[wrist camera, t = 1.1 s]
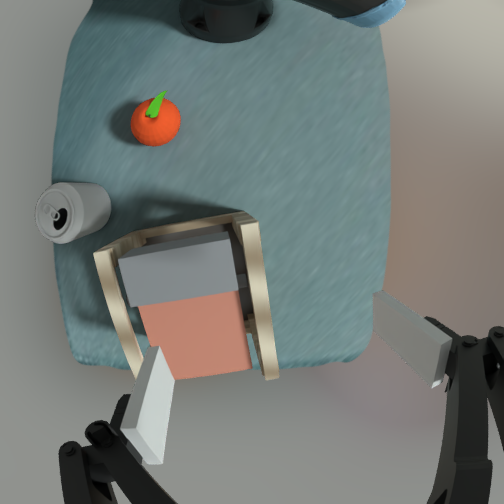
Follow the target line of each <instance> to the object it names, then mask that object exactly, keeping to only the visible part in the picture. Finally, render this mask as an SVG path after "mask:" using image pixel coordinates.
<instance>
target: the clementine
mask: <svg viewBox="0 0 504 504" xmlns="http://www.w3.org/2000/svg"><path fill="white" fill-rule="evenodd" d="M166 92H167V91H163V92H161V93H160V94H159V95H158V96H157V97H156V98H151V99H149V100H146V101H144V102H143V103H141V104H140V105H139V106H138V107H137V108H136V109H135V111H134V113H133V115H132V118H131V130H132V133H133V135H134V136H135V138H136V139H137V140H138V141H139V142H140V143H142V144H144V145H147V146H161V145H163V144H166V143H167V142H169V141H170V140H172V139H173V138H174V136H175V135H176V134H177V132H178V130H179V127H180V113H179V110H178V109H177V107H176V106H175V105H174V104H173V103H172V102H171V101H169V100H167V99H165V98H163V97H164V95H165V93H166Z"/></svg>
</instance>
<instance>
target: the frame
mask: <svg viewBox="0 0 504 504" xmlns="http://www.w3.org/2000/svg"><path fill="white" fill-rule="evenodd" d="M226 231H228V234H229V238H230V242H231V248H232V254H233V260H234V266H235V272H236V275H240V274H245V275H246V280H247V287H244V288H238V289H239V290H238V292H239V297H240V303H241V308H242V314H243V320H244V325H245V330H246V334H249V333H251V334H252V338H253V341H254V345H255V349H256V353H257V356H258V360H259V364H260V367H261V371H262V375H263V376H265V379H266V380H270V379H275V378H279V367H278V359H277V356H276V349H275V341H274V334H273V327H272V319H271V312H270V305H269V298H268V291H267V283H266V276H265V269H264V262H263V255H262V248H261V236H260V229H259V223H258V221H257V220H256V219H255V218H253V217H252V216H250V215H249V214H248V213H246V212H245V211H241V212H235V213H229V214H223V215H217V216H211V217H205V218H200V219H194V220H189V221H183V222H178V223H173V224H168V225H162V226H157V227H152V228H147V229H142V230H138V231H133V232H130V233H129V234H127V235H125V236H123V237H121V238H119V239H117V240H115V241H113V242H112V243H110V244H108V245H106V246H104V247H102V248H100V249H99V250H97V251H95V252H94V253H93V255H94V259H95V263H96V267H97V271H98V274H99V278H100V282H101V285H102V288H103V292H104V295H105V298H106V302H107V305H108V308H109V311H110V314H111V317H112V320H113V323H114V326H115V329H116V331H117V334H118V337H119V339H120V342H121V345H122V347H123V350H124V352H125V355H126V357H127V360H128V362H129V365H130V367H131V369H132V372H133V374H134V376H135V379H137V376H138V373H139V370H140V367H141V365H142V362H143V359H144V358H143V356H142V353H141V350H140V348H139V345H138V342H137V339H136V337H135V334H134V331H133V328H132V325H131V322H130V319H129V316H128V313H127V310H126V306H125V303H124V300H123V296H122V293H121V289H120V286H119V282H118V279H117V275H116V271H115V267H117V266H118V265H119V263H118V259H119V258H120V257H122V256H123V255H124V254H126V253H127V252H128V251H130V250H131V249H133V248H139V247H144V246H149V245H154V244H160V243H165V242H170V241H176V240H181V239H187V238H192V237H198V236H203V235H209V234H215V233H221V232H226ZM150 347H151V345H150Z"/></svg>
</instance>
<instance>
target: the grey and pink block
mask: <svg viewBox="0 0 504 504" xmlns="http://www.w3.org/2000/svg"><path fill="white" fill-rule="evenodd" d="M118 263H119V267H120V271H121V275H122V278H123V282H124V286H125V289H126V293H127V295H126V300H127V303H128V305H129V306H131V307H137V306H138V308H139V312H140V315H141V318H142V321H143V324H144V327H145V330H146V333H147V336H148V339H149V342H150V345H151V347H154V346H160V348H161V350H162V353H163V355H164V358H165V360H166V362H167V365H168V367H169V369H170V372H171V374H172V376H173V378H174V380H176V379H186V378H194V377H202V376H208V375H216V374H222V373H229V372H235V371H241V370H246V369H252V362H251V357H250V352H249V347H248V341H247V336H246V330H245V325H244V320H243V314H242V308H241V303H240V297H239V292H238V290H239V289H238V288H244V287H247V280H246V275H245V274H240V275H236V272H235V266H234V260H233V254H232V248H231V242H230V238H229V234H228V231H226V232H221V233H215V234H209V235H203V236H198V237H192V238H187V239H181V240H176V241H170V242H165V243H160V244H154V245H149V246H144V247H139V248H133V249H131V250H130V251H128V252H127V253H126V254H124V255H123V256H122V257H120V258H119V259H118Z"/></svg>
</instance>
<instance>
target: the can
mask: <svg viewBox="0 0 504 504" xmlns="http://www.w3.org/2000/svg"><path fill="white" fill-rule="evenodd" d="M110 213H111V201H110V198H109V195H108V193H107V192H106V191H105V189H104V188H103V187H101V186H100V185H98V184H94V183H62V182H59V183H56V184H53V185H51V186H50V187H49V188H47V189H46V190H45V192H44V193H42V195H41V196H40V198H39V199H38V201H37V204H36V208H35V220H36V224H37V227H38V229H39V231H40V232H41V234H42V235H43V236H44V237H46V238H47V239H48V240H51V241H52V242H54V243H58V244H63V243H68V242H71V241H73V240H75V239H78V238H81V237H83V236H86V235H88V234H91V233H93V232H96V231H98V230H100V229H101V228H103V227H104V225H105V224H106V223H107V221H108V219H109V217H110Z"/></svg>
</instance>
